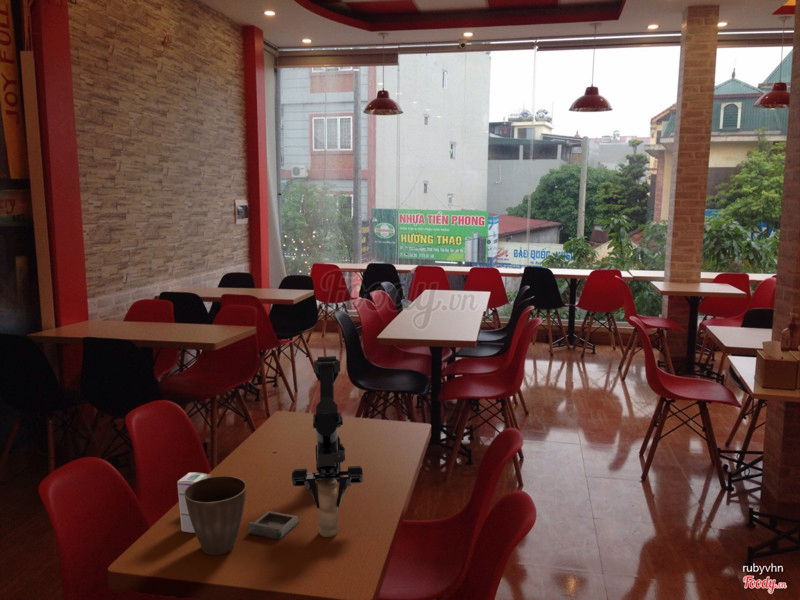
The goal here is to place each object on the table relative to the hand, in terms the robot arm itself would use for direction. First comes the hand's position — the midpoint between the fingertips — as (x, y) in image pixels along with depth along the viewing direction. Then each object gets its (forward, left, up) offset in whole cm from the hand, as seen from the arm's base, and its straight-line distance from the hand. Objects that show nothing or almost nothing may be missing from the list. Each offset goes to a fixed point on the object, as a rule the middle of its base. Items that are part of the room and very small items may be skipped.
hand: (327, 507), depth 163 cm
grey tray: (+7, -14, -8) cm, 17 cm away
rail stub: (-1, -1, -8) cm, 8 cm away
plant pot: (+22, -17, -8) cm, 29 cm away
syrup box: (+20, -31, -8) cm, 38 cm away
